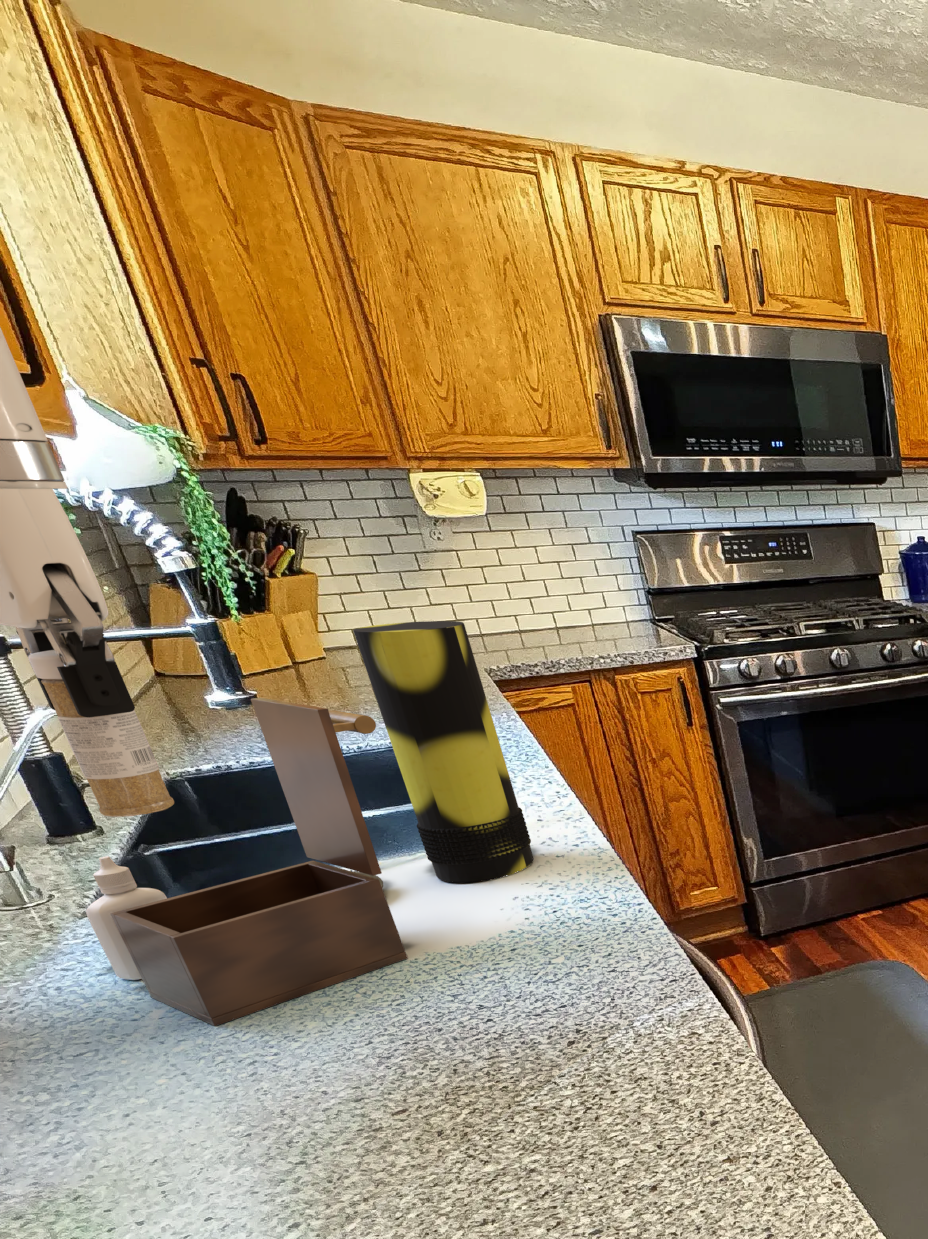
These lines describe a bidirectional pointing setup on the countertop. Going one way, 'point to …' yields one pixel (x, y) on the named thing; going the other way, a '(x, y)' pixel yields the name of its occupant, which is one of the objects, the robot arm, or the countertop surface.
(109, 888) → the eye dropper bottle
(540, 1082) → the countertop surface
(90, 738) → the spice jar
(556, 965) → the countertop surface
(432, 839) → the container
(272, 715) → the walnut panel
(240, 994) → the walnut box
